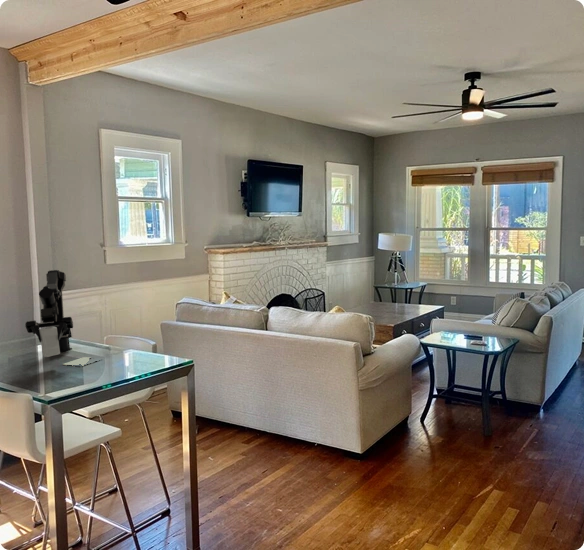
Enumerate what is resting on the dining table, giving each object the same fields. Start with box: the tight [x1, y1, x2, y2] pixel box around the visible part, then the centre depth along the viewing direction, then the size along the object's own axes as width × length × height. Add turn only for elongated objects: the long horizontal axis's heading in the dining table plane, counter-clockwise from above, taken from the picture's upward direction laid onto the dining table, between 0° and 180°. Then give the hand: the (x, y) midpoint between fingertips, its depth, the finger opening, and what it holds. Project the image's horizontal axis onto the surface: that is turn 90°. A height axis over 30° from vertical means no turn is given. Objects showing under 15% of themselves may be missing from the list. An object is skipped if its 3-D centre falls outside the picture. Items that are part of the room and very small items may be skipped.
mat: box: [62, 356, 90, 367], centre depth 246 cm, size 12×12×1 cm
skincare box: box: [39, 327, 61, 358], centre depth 238 cm, size 6×4×12 cm
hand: (49, 340), depth 236 cm, fingers closed on skincare box, 7 cm apart
